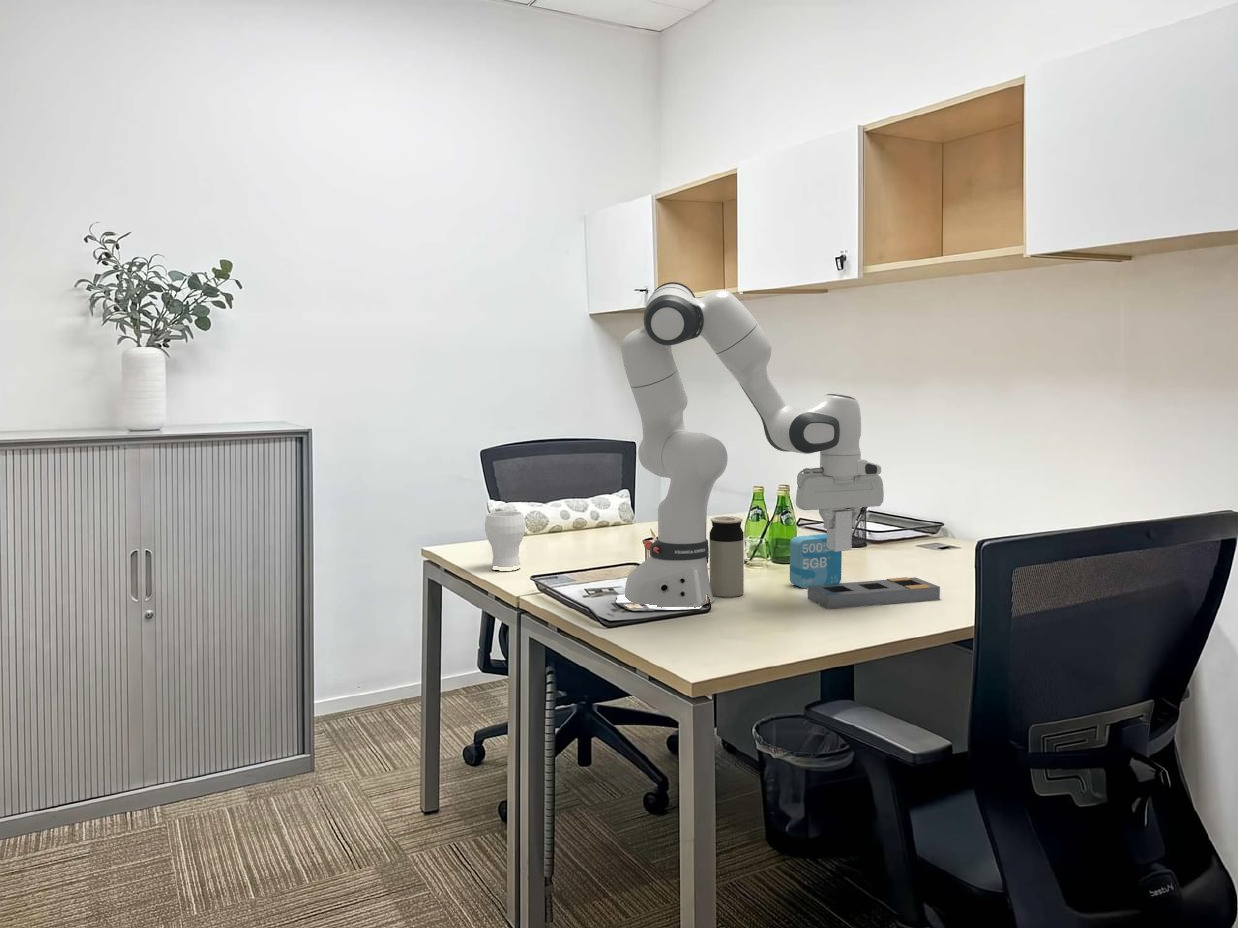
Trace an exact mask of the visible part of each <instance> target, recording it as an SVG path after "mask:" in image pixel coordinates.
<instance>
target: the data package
mask: <svg viewBox="0 0 1238 928" xmlns="http://www.w3.org/2000/svg"><path fill="white" fill-rule="evenodd" d="M842 552H843V551H838V552H835V551H833V550H831V549H829V548H827V533H823V534H821V533H820V534H813V535H812V534H810V535H799V536H798V535H797V536H794V537H792V538H791V539H790V542H789V581H790V583H791V585H793V586H796V587H799V588H801V589H808V586H812V585H825V584H838V583H841V581H842V555H843V554H842Z"/></svg>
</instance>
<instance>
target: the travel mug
mask: <svg viewBox="0 0 1238 928" xmlns="http://www.w3.org/2000/svg"><path fill="white" fill-rule="evenodd" d="M710 522H711V529H710V530H709V582H710V587H711V592H712V595H713V597H717V598H736V597H737V598H738V597H740V596H742V595H743V594H744V592H745V591H744V590H745V589H744V587H745V586H744V585H745V583H744V582H745V578H744V575H745V573H744V571H745V569H744V565H745V563H744V558H745V557H744V555H745V554H744V545H745V544H744V543H745V541H744V540H745V539H744V536H745V534H744V533H745V532H744V531H743V528H742V527H741V526H742V522H743V518H742V517H739V516H733V515H732V516H728V515H727V516H725V515H724V516H723V515H722V516H721V515H720V516H714V517H713V516H712V517H711V518H710Z"/></svg>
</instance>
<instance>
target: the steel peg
mask: <svg viewBox="0 0 1238 928" xmlns="http://www.w3.org/2000/svg"><path fill="white" fill-rule="evenodd" d="M827 516H828V518H829V520H831V521H833V528H832V529H826V534H827V548H829V549H831V550H833V551H835V552H838V551H842V552H845V551H852V547H853V546H852V545H853V544H852V540H853V539H852V538H853V537H852V535H853V533H852V532H853V531H852V528H853V527H852V511H851V510H850V508H839V509H829V514H827Z"/></svg>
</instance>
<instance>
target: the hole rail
mask: <svg viewBox="0 0 1238 928" xmlns="http://www.w3.org/2000/svg"><path fill="white" fill-rule="evenodd" d="M940 596H941V586H939V585H936V584H935V583H931V582H929V581H926V580H925V579H924V580H923V579H921V578H918V577H916V576H914V577H893V578H886V579H880V580H878V579H876V580H866V581H853V582H840V583H838V584H825V585H812V586H808V588H807V600H809V601H811V602H814V603H815V604H817V605H819V606H821V607H823V608H824V609H827V610H835V609H845V608H857V607H870V606H879V605H880V606H881V605H882V606H883V605H892V604H895V605H896V604H904V603H916V602H927V601H937V600H938V601H939V600H941V597H940Z"/></svg>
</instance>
